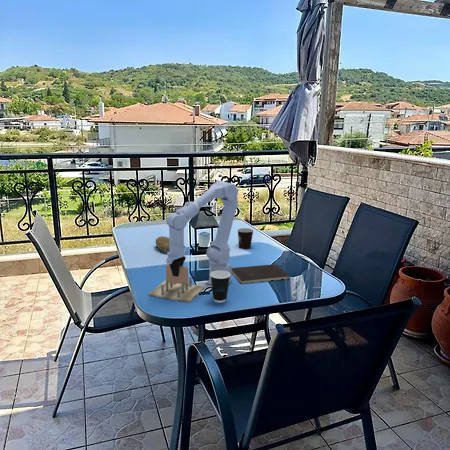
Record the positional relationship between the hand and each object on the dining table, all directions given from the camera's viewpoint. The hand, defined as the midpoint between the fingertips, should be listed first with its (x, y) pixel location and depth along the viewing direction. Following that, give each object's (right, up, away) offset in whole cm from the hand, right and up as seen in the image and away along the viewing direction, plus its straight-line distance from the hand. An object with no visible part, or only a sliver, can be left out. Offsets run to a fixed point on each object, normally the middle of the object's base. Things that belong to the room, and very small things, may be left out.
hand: (176, 275), depth 167 cm
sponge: (-10, +6, +54) cm, 55 cm away
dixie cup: (+18, -9, -5) cm, 20 cm away
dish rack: (0, -7, +2) cm, 7 cm away
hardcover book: (+35, -3, +22) cm, 42 cm away
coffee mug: (+31, +8, +63) cm, 71 cm away
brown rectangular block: (0, -3, +1) cm, 3 cm away
